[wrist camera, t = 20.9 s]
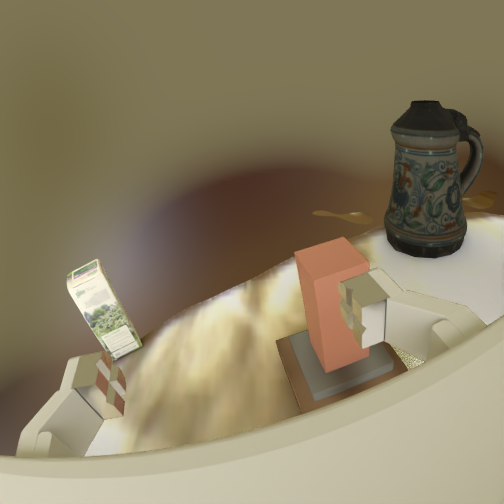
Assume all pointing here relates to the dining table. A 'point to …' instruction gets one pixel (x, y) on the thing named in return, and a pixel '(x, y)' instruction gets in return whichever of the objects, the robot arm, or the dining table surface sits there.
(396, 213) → the beer stein
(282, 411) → the dining table surface
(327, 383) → the podium
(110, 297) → the syrup box
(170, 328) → the dining table surface
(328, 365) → the carton
